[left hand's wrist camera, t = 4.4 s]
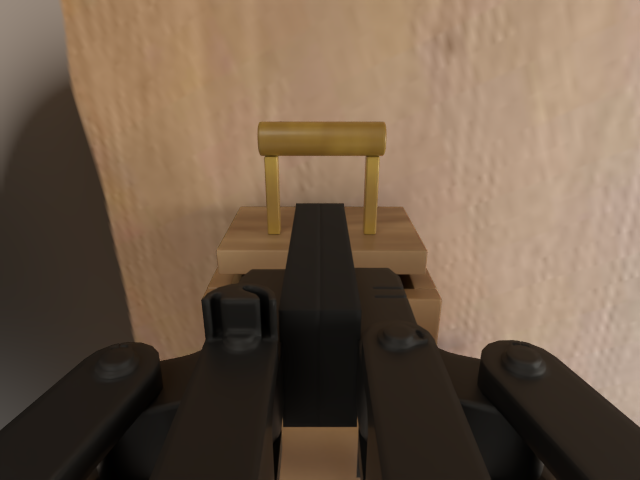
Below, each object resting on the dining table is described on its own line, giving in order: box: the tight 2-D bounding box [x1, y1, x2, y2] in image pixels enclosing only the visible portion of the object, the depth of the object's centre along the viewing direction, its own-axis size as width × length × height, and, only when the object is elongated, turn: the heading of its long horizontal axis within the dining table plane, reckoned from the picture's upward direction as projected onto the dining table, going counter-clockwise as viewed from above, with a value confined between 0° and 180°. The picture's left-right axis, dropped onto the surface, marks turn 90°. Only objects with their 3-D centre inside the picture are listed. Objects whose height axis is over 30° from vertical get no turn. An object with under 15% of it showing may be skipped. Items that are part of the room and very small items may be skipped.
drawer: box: [216, 122, 428, 274], centre depth 25 cm, size 22×10×7 cm, turn 0°
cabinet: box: [202, 268, 442, 480], centre depth 27 cm, size 18×11×9 cm, turn 0°
